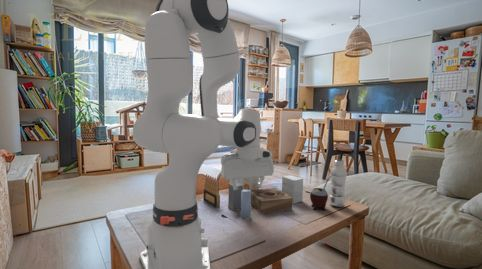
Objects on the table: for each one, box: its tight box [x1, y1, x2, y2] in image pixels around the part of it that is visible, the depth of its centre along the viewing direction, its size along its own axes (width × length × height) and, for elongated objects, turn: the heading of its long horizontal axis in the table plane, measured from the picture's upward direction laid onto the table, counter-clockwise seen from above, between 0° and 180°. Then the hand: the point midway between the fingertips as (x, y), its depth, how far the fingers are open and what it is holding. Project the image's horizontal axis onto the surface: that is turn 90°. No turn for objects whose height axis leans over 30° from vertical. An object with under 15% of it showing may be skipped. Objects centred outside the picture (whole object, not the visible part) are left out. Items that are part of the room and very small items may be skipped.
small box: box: [281, 174, 304, 204], centre depth 119 cm, size 8×6×10 cm
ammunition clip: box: [202, 173, 221, 209], centre depth 112 cm, size 11×2×12 cm, turn 38°
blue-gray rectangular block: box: [240, 190, 252, 220], centre depth 99 cm, size 4×4×10 cm
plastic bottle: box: [328, 159, 348, 208], centre depth 113 cm, size 6×7×20 cm
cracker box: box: [229, 148, 260, 190], centre depth 125 cm, size 14×6×21 cm, turn 49°
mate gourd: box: [309, 174, 334, 211], centre depth 110 cm, size 8×8×15 cm
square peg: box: [227, 183, 243, 212], centre depth 108 cm, size 4×4×10 cm
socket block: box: [251, 187, 293, 214], centre depth 112 cm, size 14×14×5 cm
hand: (247, 188), depth 99 cm, fingers open, 8 cm apart
